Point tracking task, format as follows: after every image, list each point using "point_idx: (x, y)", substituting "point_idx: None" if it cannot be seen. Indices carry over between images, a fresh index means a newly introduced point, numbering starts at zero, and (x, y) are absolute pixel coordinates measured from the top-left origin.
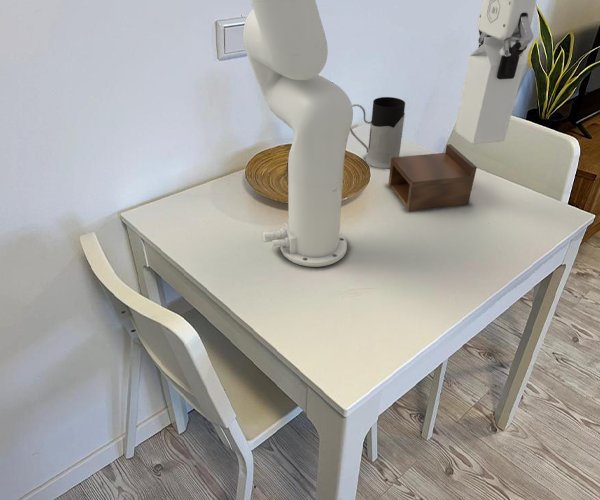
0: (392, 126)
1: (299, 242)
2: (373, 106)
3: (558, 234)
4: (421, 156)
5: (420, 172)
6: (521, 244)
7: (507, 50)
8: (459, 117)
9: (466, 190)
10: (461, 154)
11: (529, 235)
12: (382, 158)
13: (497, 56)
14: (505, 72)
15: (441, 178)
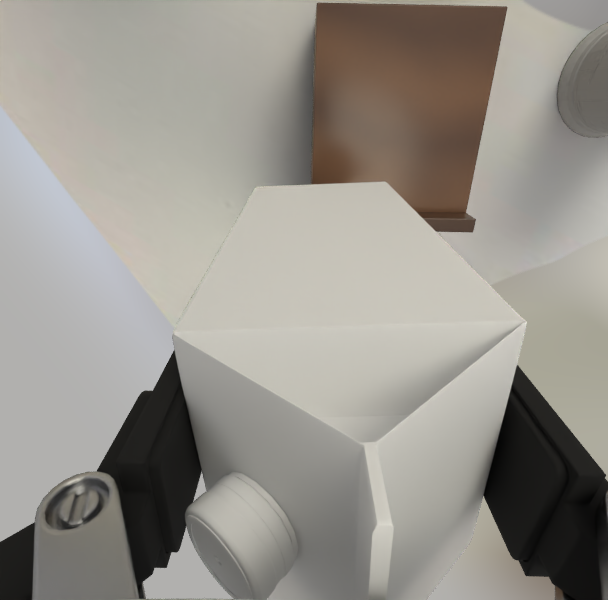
0: None
1: None
2: None
3: (173, 311)
4: (471, 125)
5: (371, 65)
6: (144, 227)
7: (88, 532)
8: (380, 194)
9: None
10: None
11: (174, 260)
12: (595, 52)
13: (240, 447)
14: (142, 394)
15: (317, 116)
